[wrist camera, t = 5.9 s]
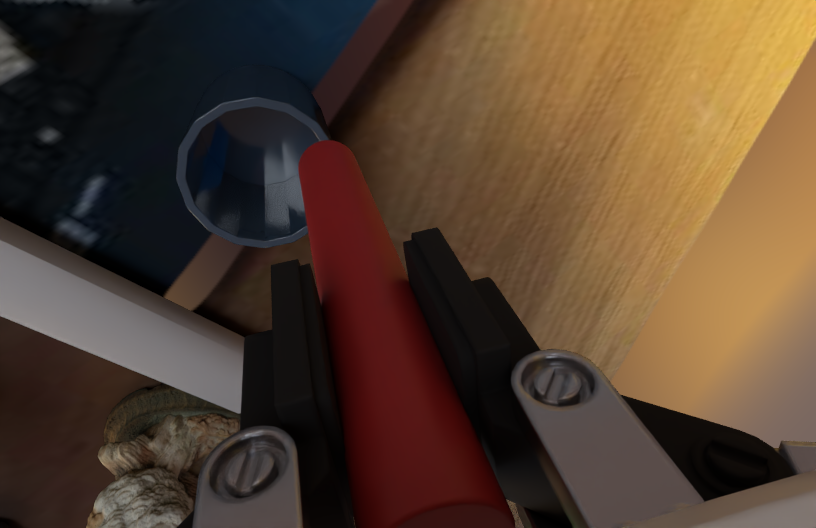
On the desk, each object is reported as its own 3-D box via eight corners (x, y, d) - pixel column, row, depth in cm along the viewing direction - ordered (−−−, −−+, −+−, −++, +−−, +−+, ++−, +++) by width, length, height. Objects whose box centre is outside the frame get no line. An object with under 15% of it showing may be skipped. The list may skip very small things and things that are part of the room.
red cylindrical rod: (291, 146, 18) (349, 531, 6) (351, 134, 18) (515, 481, 6) (305, 200, 19) (376, 618, 7) (361, 188, 19) (519, 573, 7)
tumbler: (177, 76, 29) (152, 114, 22) (309, 54, 30) (322, 85, 23) (217, 197, 33) (206, 261, 26) (333, 174, 34) (351, 230, 27)
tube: (301, 372, 36) (-161, 148, 24) (256, 439, 36) (-233, 249, 24) (282, 342, 41) (-112, 142, 28) (243, 402, 40) (-172, 227, 28)
